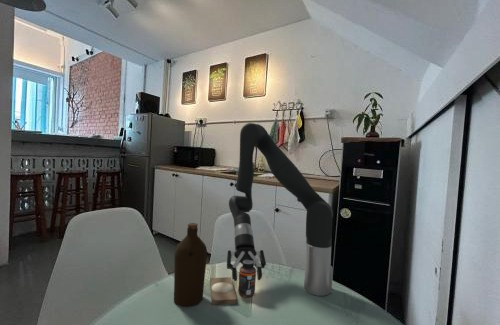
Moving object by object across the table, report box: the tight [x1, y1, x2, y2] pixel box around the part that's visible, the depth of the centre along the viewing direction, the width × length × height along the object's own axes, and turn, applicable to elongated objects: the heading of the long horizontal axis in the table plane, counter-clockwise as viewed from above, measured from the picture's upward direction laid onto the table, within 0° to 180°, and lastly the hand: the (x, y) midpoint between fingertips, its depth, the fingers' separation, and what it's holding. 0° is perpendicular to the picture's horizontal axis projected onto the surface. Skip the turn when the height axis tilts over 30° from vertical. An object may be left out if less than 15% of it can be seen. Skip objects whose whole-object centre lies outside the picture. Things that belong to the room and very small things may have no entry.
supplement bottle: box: [237, 260, 257, 298], centre depth 87 cm, size 6×6×11 cm
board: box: [209, 276, 238, 306], centre depth 87 cm, size 8×16×2 cm, turn 11°
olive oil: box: [173, 222, 208, 308], centre depth 81 cm, size 11×11×25 cm
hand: (247, 279), depth 86 cm, fingers open, 8 cm apart
